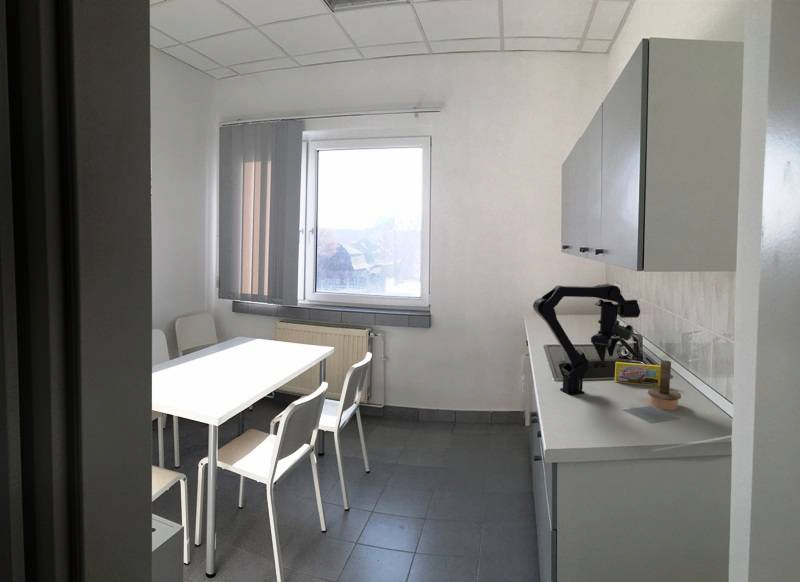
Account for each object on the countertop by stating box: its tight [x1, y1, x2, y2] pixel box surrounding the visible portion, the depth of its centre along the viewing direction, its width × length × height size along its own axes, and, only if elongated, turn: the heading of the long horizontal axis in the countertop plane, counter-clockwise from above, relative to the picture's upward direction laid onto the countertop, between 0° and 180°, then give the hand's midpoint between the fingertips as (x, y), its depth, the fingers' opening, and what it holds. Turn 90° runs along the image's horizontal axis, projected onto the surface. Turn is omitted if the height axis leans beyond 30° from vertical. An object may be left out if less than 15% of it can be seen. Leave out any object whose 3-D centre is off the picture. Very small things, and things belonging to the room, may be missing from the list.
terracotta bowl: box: [649, 396, 679, 411], centre depth 160 cm, size 8×8×4 cm
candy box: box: [614, 361, 661, 387], centre depth 185 cm, size 16×2×8 cm, turn 71°
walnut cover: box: [647, 359, 682, 401], centre depth 159 cm, size 10×10×12 cm
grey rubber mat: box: [622, 405, 681, 424], centre depth 152 cm, size 12×12×1 cm
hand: (606, 358), depth 174 cm, fingers open, 9 cm apart
